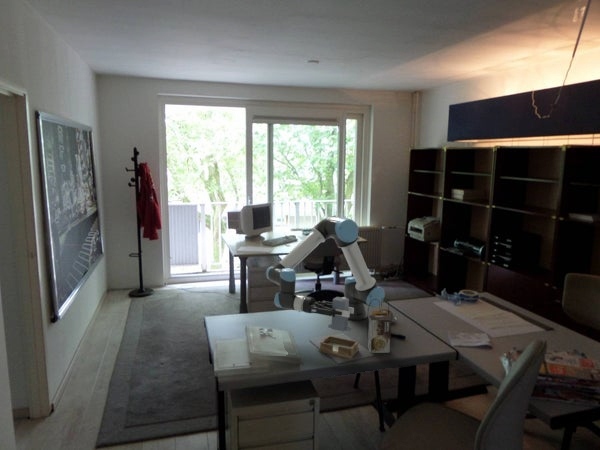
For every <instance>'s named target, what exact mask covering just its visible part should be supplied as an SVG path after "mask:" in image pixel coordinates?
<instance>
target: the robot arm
mask: <svg viewBox="0 0 600 450" xmlns="http://www.w3.org/2000/svg"><path fill="white" fill-rule="evenodd" d="M358 233H360V232H359V226H358V224H357V222H355V220H353V219H350V218H348V217H342V216H341V217H340V216H336V215H331V216H326V217H325V218H324V219H322V220H320V221H319V222H318V223H317V224H315V225H314V226H313V227H312V228H311V232H310V233H309V234H307V235H306V237H304V238H303V240H302V241H300V242H299V243H298V244H297V245H296V246H295V247H293V249H292V250H291V251H289V252H288V254H286V255H285V256H284V257H282V259H281V260H280V261H279V262H278V263H277V264H276V265H272V266H270V267H267V269H266V271H265V277H266V278H267V279H268V280H269V281H270V282H272V283H275V284H276V285H277V286H279V291H278V292H276V293H275V295H274V299H273V300H274V301H273V302H274V305H275V307H276V308H281V309H282V310H283V309H286V310H290V311H296V312H297V311H298V313H301V312H304V313H307V314H318V315H324V316H328V317H332V315H333V317H335V315H338V316H343V317H348V320H350V321H351V320H352V321H360V320H361V321H362V320H364V319H367V314H368V311H367V308H366V306H368V307H371V308H376V307H379V301H380V305H381V300H382V302H383V301H384V299H382V298H385V290H384V288H382V287H381V286H379V285H378V283H377V280H376V278H375V277H373V276H372V275H371V273H370V271H369V268H368V267H367V264H366V261H365V259H364V257H363V253H362V252H361V249H360V247H359V245H358V240H359V237H358V236H359V234H358ZM328 239H333V240H334V241H335V244H336V246H337V248H339V249H341V251H342V253H343V255H344V258H345V260H346V263H347V265H348V267H349V269H350V271H351V273H352V275H353V276H348V277H345V280H344V291H343V293H344V296H343V297H345V298H348V299H349V308H348V311H345V310H340V309H336V311H335V309H332V306H333V301H327V300H323V299H322V300H321V301H320V300H319V301H316V299H315V298H314V297H312V296H306V295H300V294H296V279H297V275H296V270H295V268H296V267H297V266H298V265H299V264H300V263H301V262H302V261H303V260H305V258H306V257H307V256H309V254H311V253H312V251H314V250H315V249H316V248H317V247H318V246H319V244H321V243H325V242H326V241H327V240H328ZM373 299H375V300H373ZM376 299H377V300H376ZM378 300H379V301H378ZM371 301H372V302H371ZM370 302H371V303H370ZM369 305H370V306H369Z"/></svg>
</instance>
